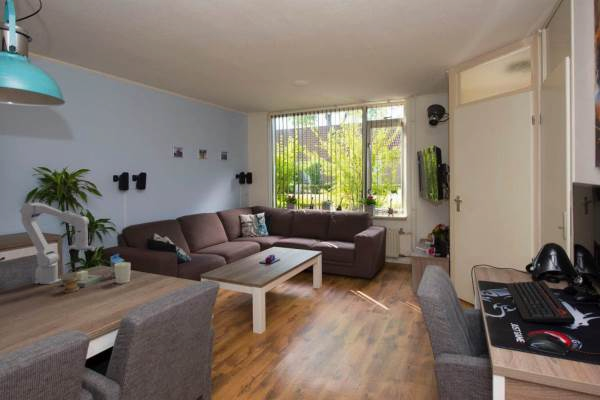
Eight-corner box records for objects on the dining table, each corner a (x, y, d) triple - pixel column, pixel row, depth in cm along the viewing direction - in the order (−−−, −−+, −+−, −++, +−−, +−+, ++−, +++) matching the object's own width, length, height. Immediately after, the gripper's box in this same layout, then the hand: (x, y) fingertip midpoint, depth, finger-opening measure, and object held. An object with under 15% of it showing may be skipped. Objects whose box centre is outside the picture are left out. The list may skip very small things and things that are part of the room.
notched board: (61, 285, 182) (61, 281, 182) (81, 277, 196) (81, 274, 196) (85, 287, 181) (85, 283, 180) (104, 279, 194) (103, 275, 194)
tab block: (76, 284, 185) (75, 273, 185) (83, 281, 190) (83, 270, 190) (81, 284, 185) (80, 273, 184) (88, 281, 190) (87, 270, 189)
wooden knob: (59, 292, 172) (58, 280, 172) (70, 287, 179) (70, 276, 179) (71, 293, 171) (71, 281, 171) (82, 288, 178) (82, 277, 178)
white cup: (126, 284, 187) (125, 266, 186) (111, 283, 187) (111, 265, 186) (133, 279, 195) (133, 262, 194) (119, 279, 195) (119, 262, 194)
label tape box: (117, 277, 198) (117, 256, 197) (110, 277, 198) (110, 256, 197) (125, 273, 206) (125, 253, 205) (118, 273, 206) (118, 253, 206)
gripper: (63, 239, 185) (64, 264, 186) (88, 240, 183) (88, 265, 184) (74, 236, 192) (74, 260, 193) (97, 238, 190) (98, 262, 191)
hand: (82, 263), depth 189 cm, fingers open, 7 cm apart
